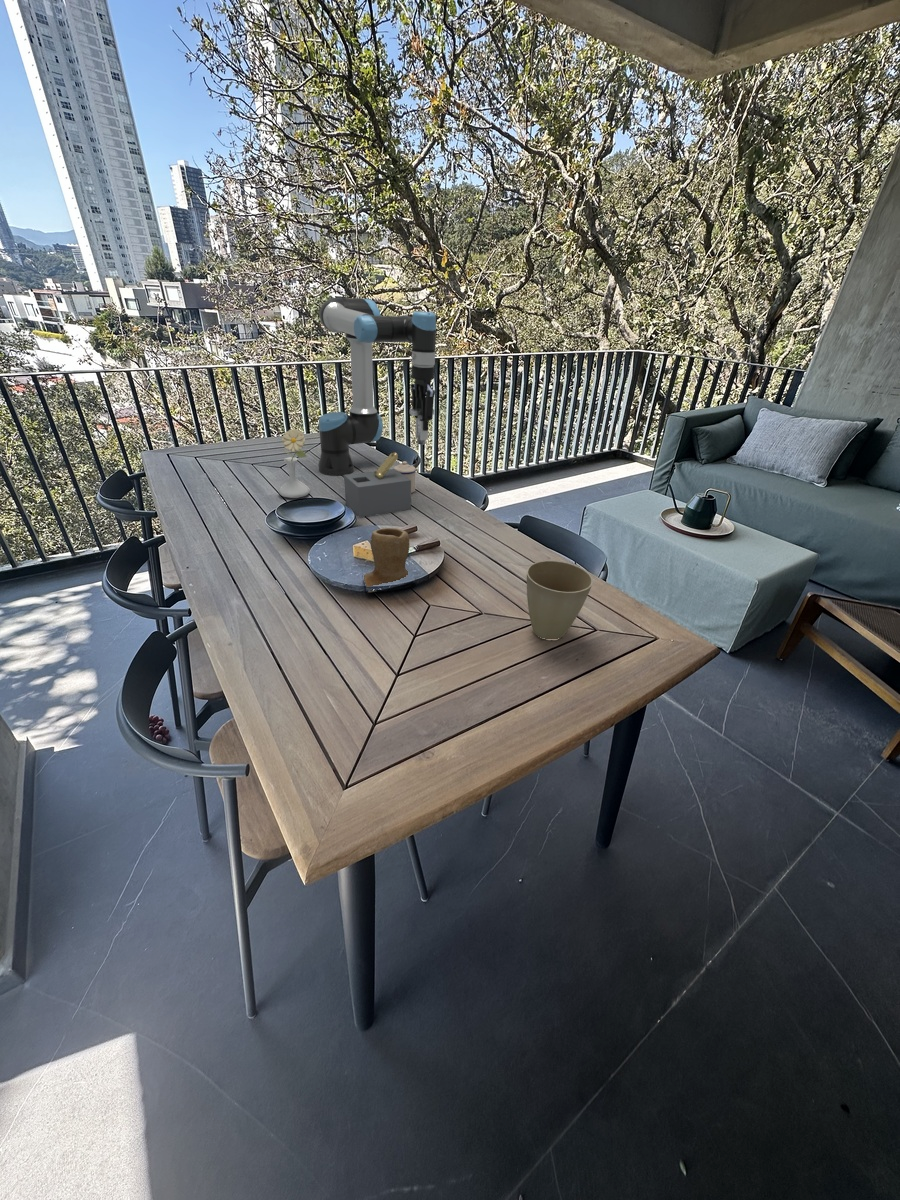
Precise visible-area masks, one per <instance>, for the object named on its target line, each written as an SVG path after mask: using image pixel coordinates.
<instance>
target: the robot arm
mask: <svg viewBox="0 0 900 1200" xmlns="http://www.w3.org/2000/svg"><path fill="white" fill-rule="evenodd" d="M318 316H319V321H320V323H321V324H322V326H323V327H324V328H325V329H326V330H328V331H330V332H331V333H338V334H345V338H346V339H347V340H348V341H349V344H350V345H349V346H350V367H351V368H350V369H351V370H350V371H351V372H350V373H351V390H352V391H351V395H352V406H351V407H350V409H349V415H348V414H347V413H346V412H343V411H332V412H328V413H325V414H322V415H321V416H319V419H318V431H319V439H320V440H319V441H320V442H319V443H320V457H319V461H318V465H317V466H318V468H317V469H318V472H319V473H320V474H323V475H328V476H344V475H348V474H353V472H354V471H355V467H354V466H355V465H354V462H353V460H352V457H351V454H350V448H349V446H350V445H358V444H370V443H374V442H377V441H379V440H380V438H381V437H382V434H383V430H384V427H383V425H384V424H383V421H382V420H383V418H382V417H381V414H379V413H378V410H377V408H375V406H374V376H373V374H374V373H373V370H374V369H373V344H374V343H409V344H411V356H410V358H411V364H412V366H411V377H412V379H414V383H411V384H410V388H411V409H420V408H421V411H422V419H420V440H429V421H432V420H433V409H434V401H435V399H434V398H435V395H436V391H435V389H432V384H431V382H432V380H434V379H435V367H434V366H435V364H436V363H435V361H436V337H437V315H436V314H435V312H431V311H421V310H420V311H418V310H417V311H413V312H412V316H408V315H398V316H395V315H393V316H392V315H389V316H388V315H386V316H385V315H382V314H381V311H380V309H379V307H378V305H377V303H376V302H375V301H374V300H373V299H369V298H363V297H362V298H358V297H357V298H355V297H333V298H329V299H327V300H325V301H324V303H322V304H321V306H320V309H319V315H318ZM414 418H415V431H414V432H415V434H414V435H415V438H416V439H417V429H418V416H414Z"/></svg>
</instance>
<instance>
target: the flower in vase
mask: <svg viewBox="0 0 900 1200" xmlns="http://www.w3.org/2000/svg"><path fill="white" fill-rule="evenodd" d="M281 442H282V445H283V448H284V449H285V450H283V449H282V451H283V452H284V453H286V454H288V455H289V456H291V457H285V458H283V460H282V461H283V462H285V464H286V466H287V469H288V480H287V481H286V482H285V483H283V484H282V485H281V487H279V488H278V494H279V495H280V496H282V497H284V498H288V499H297V498H298V499H299V498H303V497H305V496H308V495H309V493H310V492H311V489H310V488H309V486H308V485H306V484H305V483H304V482H302V481H300V480H299V479H298V478H297V476H296V464H297V462H298V458H307V457H308V455H307V454H306V453H305V452H304V451H303V450H302V449H303V447H304V445H305V443H306V438H305V436H304V433H303V432H302V431H301V430H300V431H299V430H298V429H295V428H292V429H288V431H285V432H284V434H283V436H282V439H281ZM286 450H287V451H286ZM289 451H290V452H293V453H294V454H293V455H292V454H291V453H290V452H289ZM295 455H297V457H298V458H297V457H295Z"/></svg>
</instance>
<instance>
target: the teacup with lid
mask: <svg viewBox="0 0 900 1200" xmlns="http://www.w3.org/2000/svg"><path fill="white" fill-rule="evenodd" d="M392 469H396V470H397V471H398V472H400V473H401V474H403V475H404V476H406V477H407V478H409V479H410V480H411V494H413V493H414V492H415V491H416V472H417V468H416V467H415V466H413V465H410V464H409V463H408V462H407V461H405V460H404V461H402V462H401V463H400V464H398V465H395V466H393V467H392Z"/></svg>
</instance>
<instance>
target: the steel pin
mask: <svg viewBox="0 0 900 1200" xmlns="http://www.w3.org/2000/svg"><path fill="white" fill-rule="evenodd" d="M409 415H410V416H413V417H415V416H418V429H417V438H416V442H417V445H426V443H427V442H426V440H420V419H422V411H421V408H420V409H412V408H410V409H409ZM433 415H435V409H434V408H433ZM433 415H432V416H433Z"/></svg>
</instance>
